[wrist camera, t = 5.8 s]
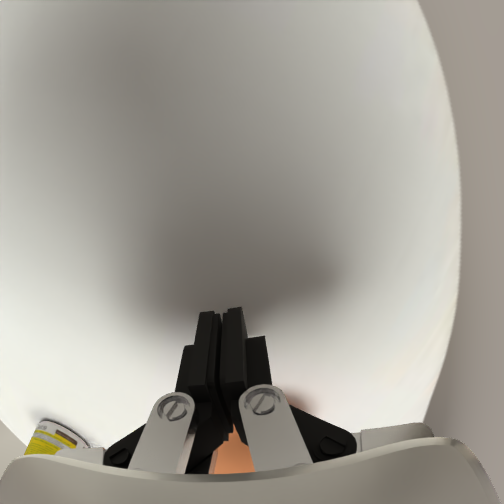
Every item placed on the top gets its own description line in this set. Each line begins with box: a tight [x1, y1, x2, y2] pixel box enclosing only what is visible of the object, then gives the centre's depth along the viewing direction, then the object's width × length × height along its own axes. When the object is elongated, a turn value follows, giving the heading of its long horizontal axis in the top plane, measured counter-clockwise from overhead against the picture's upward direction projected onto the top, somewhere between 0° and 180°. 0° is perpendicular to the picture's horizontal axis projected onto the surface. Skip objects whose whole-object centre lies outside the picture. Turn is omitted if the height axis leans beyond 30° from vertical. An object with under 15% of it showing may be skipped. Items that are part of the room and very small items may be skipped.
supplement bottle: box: [24, 421, 88, 455], centre depth 12 cm, size 6×6×10 cm
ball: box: [214, 423, 255, 474], centre depth 13 cm, size 6×6×6 cm
